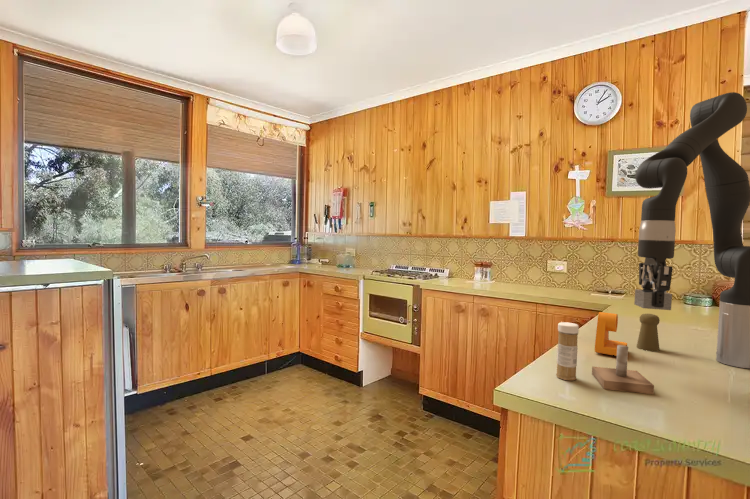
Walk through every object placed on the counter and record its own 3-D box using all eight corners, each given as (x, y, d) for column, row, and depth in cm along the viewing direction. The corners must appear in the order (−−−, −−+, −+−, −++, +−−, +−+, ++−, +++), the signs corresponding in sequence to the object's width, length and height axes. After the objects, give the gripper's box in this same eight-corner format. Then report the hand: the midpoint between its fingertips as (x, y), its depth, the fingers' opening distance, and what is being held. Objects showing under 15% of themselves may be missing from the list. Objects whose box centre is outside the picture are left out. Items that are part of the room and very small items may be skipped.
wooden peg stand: (636, 378, 99) (638, 342, 98) (653, 394, 89) (655, 354, 89) (591, 374, 101) (593, 339, 101) (603, 388, 92) (605, 350, 91)
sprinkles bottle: (564, 373, 101) (566, 321, 101) (580, 379, 97) (583, 325, 97) (551, 376, 99) (554, 322, 99) (567, 382, 95) (570, 326, 95)
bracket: (622, 359, 114) (625, 318, 114) (594, 354, 119) (596, 314, 118) (627, 351, 123) (629, 312, 122) (600, 346, 127) (602, 309, 127)
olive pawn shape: (658, 348, 127) (660, 313, 127) (660, 352, 122) (662, 317, 122) (636, 344, 130) (638, 311, 130) (636, 349, 125) (638, 314, 125)
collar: (660, 306, 104) (661, 290, 103) (671, 310, 98) (672, 294, 98) (634, 304, 105) (635, 289, 105) (643, 308, 99) (644, 292, 99)
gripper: (688, 239, 93) (683, 311, 94) (661, 239, 107) (657, 301, 107) (651, 238, 95) (646, 308, 95) (629, 238, 109) (625, 299, 109)
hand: (652, 304), depth 101 cm, fingers closed on collar, 6 cm apart
